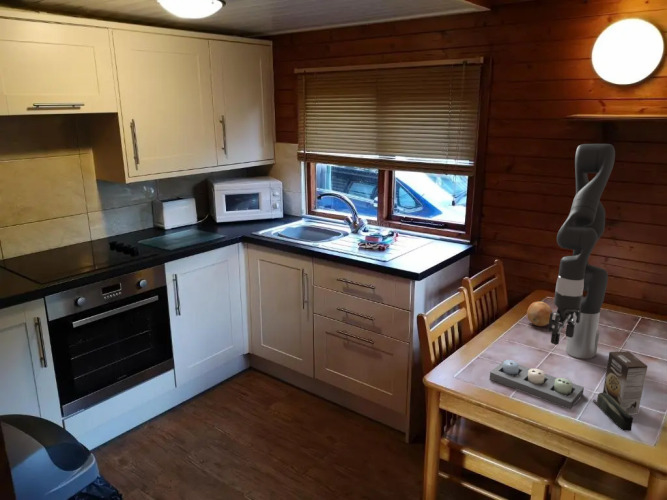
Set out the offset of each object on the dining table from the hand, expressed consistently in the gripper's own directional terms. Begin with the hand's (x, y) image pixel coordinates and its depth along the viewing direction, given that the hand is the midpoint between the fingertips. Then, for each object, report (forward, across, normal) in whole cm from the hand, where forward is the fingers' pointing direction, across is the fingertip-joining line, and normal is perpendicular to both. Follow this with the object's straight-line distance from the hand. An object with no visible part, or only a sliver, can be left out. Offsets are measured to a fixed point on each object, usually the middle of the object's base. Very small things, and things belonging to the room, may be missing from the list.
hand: (561, 340), depth 162 cm
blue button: (+15, +4, -13) cm, 21 cm away
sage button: (+15, +2, +3) cm, 16 cm away
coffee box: (+17, -7, +17) cm, 25 cm away
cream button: (+15, +3, -5) cm, 17 cm away
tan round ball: (+16, -39, -30) cm, 52 cm away
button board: (+17, +3, -5) cm, 18 cm away
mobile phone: (+18, 0, +18) cm, 25 cm away
